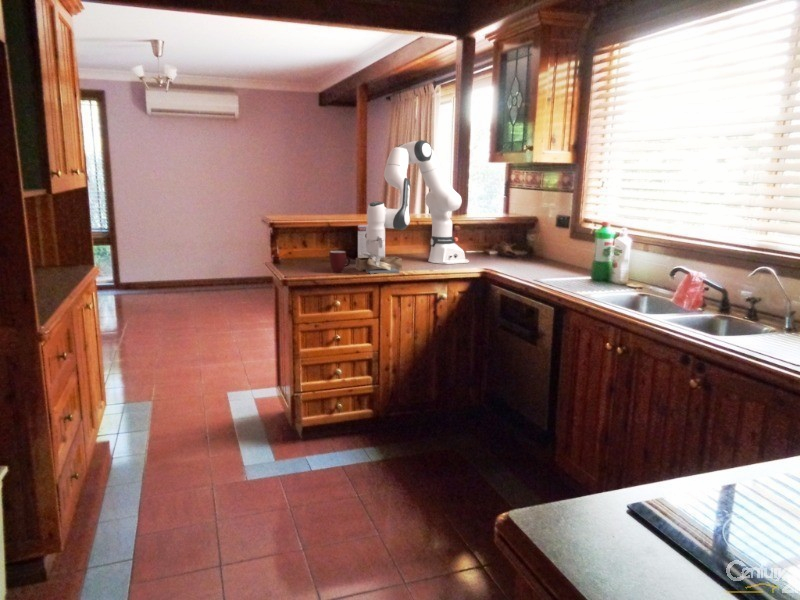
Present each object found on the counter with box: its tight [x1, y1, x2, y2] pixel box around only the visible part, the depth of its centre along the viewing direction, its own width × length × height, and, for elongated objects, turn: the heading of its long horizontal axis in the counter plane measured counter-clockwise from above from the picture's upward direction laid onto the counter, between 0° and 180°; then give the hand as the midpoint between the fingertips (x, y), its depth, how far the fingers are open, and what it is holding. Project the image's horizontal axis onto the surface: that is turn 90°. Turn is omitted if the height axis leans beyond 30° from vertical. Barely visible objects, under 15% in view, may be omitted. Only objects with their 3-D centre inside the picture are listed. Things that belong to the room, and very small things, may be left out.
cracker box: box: [357, 223, 386, 258], centre depth 326 cm, size 14×6×21 cm, turn 84°
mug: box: [328, 250, 351, 274], centre depth 300 cm, size 10×8×10 cm
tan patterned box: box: [355, 256, 403, 272], centre depth 311 cm, size 22×8×6 cm, turn 109°
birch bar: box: [367, 258, 392, 270], centre depth 301 cm, size 11×4×2 cm, turn 109°
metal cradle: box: [361, 252, 385, 259], centre depth 311 cm, size 19×6×2 cm, turn 109°
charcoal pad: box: [365, 268, 400, 275], centre depth 303 cm, size 15×8×1 cm, turn 109°
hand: (375, 264), depth 301 cm, fingers open, 5 cm apart
